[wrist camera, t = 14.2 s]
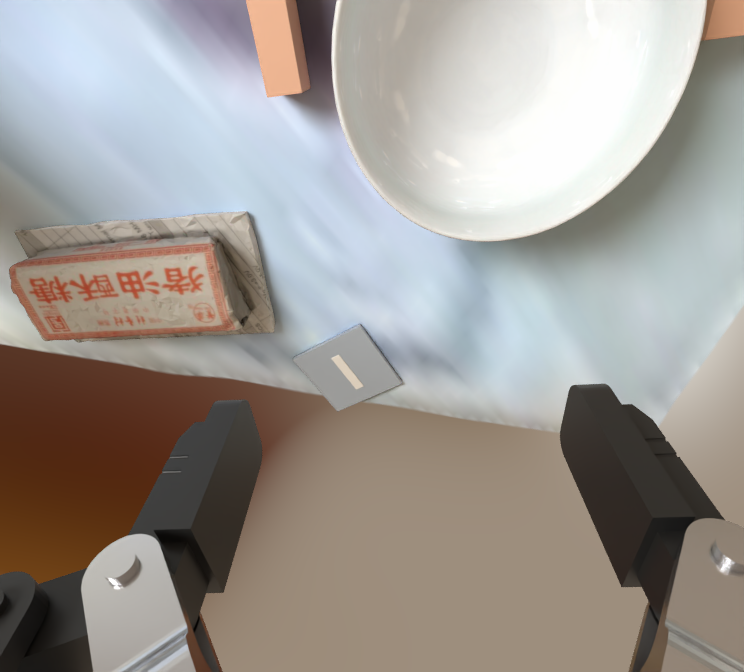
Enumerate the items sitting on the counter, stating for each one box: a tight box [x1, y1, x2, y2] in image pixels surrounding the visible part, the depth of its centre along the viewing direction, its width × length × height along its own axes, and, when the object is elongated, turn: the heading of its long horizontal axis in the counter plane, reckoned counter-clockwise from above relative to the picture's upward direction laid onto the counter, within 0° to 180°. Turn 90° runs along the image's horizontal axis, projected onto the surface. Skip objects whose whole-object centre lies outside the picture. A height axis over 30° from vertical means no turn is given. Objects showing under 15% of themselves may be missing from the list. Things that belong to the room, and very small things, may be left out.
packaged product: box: [9, 211, 275, 342], centre depth 34 cm, size 18×5×10 cm
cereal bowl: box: [331, 0, 707, 242], centre depth 23 cm, size 17×17×7 cm
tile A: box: [293, 324, 402, 411], centre depth 39 cm, size 7×7×1 cm
